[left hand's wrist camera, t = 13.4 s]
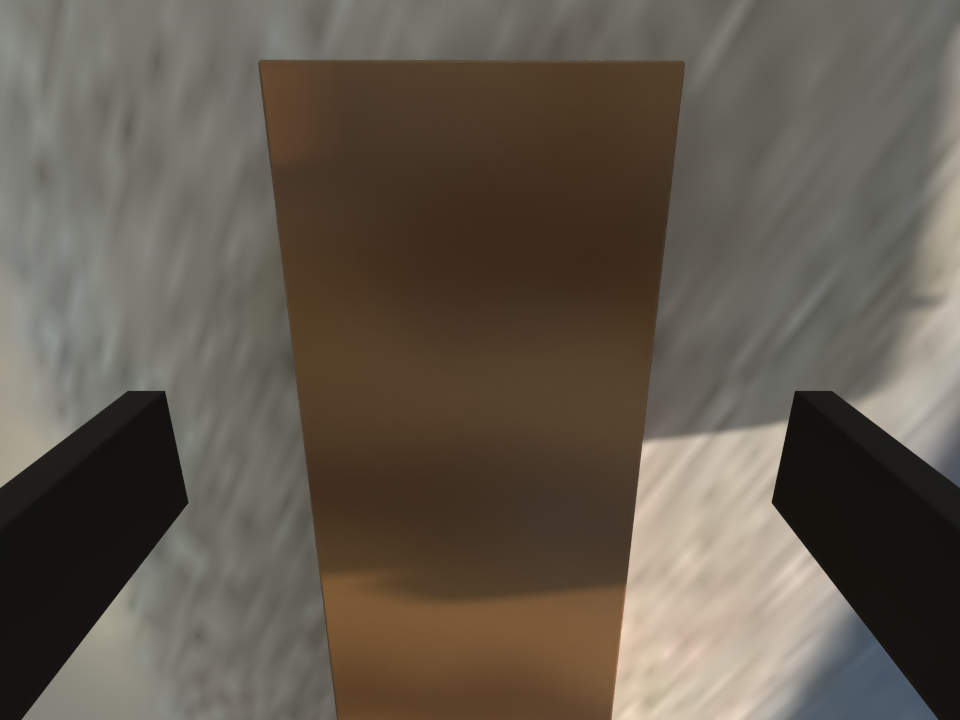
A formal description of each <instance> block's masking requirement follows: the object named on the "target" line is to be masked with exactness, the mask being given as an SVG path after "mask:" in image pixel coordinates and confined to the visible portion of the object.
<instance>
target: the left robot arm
mask: <svg viewBox="0 0 960 720" xmlns="http://www.w3.org/2000/svg"><path fill="white" fill-rule="evenodd" d="M187 504H188V498H187V494H186V489H185V484H184V479H183V475H182V470H181V465H180V460H179V456H178V451H177V446H176V441H175V437H174V432H173V427H172V422H171V418H170V413H169V408H168V403H167V399H166V394H165V391H127V392H126V393H125V394H124V395H122V396H121V397H120V398H118V399H117V400H116V401H114V402H113V403H112V404H110V405H109V406H108V407H106V408H105V409H104V410H102V411H101V412H100V413H99V414H97V415H96V416H95V417H93V418H92V419H91V420H89V421H88V422H87V423H85V424H84V425H83V426H81V427H80V428H79V429H77V430H76V431H75V432H73V433H72V434H71V435H70V436H68V437H67V438H66V439H64V440H63V441H62V442H60V443H59V444H58V445H56V446H55V447H54V448H52V449H51V450H50V451H48V452H47V453H46V454H45V455H43V456H42V457H41V458H39V459H38V460H37V461H35V462H34V463H33V464H31V465H30V466H29V467H27V468H26V469H25V470H23V471H22V472H21V473H19V474H18V475H17V476H16V477H14V478H13V479H12V480H10V481H9V482H8V483H6V484H5V485H4V486H2V487H1V488H0V720H22V718H23V717H24V716H25V714H26V713H27V712H28V710H29V709H30V708H31V707H32V705H33V704H34V703H35V701H36V700H37V699H38V697H39V696H40V695H41V694H42V692H43V691H44V690H45V688H46V687H47V686H48V684H49V683H50V682H51V681H52V679H53V678H54V677H55V675H56V674H57V673H58V671H59V670H60V669H61V668H62V666H63V665H64V664H65V662H66V661H67V660H68V658H69V657H70V656H71V655H72V653H73V652H74V651H75V649H76V648H77V647H78V646H79V644H80V643H81V642H82V640H83V639H84V638H85V636H86V635H87V634H88V633H89V631H90V630H91V629H92V627H93V626H94V625H95V623H96V622H97V621H98V620H99V618H100V617H101V616H102V614H103V613H104V612H105V610H106V609H107V608H108V607H109V605H110V604H111V603H112V601H113V600H114V599H115V597H116V596H117V595H118V594H119V592H120V591H121V590H122V588H123V587H124V586H125V584H126V583H127V582H128V581H129V579H130V578H131V577H132V575H133V574H134V573H135V571H136V570H137V569H138V568H139V566H140V565H141V564H142V562H143V561H144V560H145V558H146V557H147V556H148V555H149V553H150V552H151V551H152V549H153V548H154V547H155V545H156V544H157V543H158V542H159V540H160V539H161V538H162V536H163V535H164V534H165V532H166V531H167V530H168V529H169V527H170V526H171V525H172V523H173V522H174V521H175V520H176V518H177V517H178V516H179V514H180V513H181V512H182V510H183V509H184V508H185V507H186V505H187ZM772 504H773V505H774V507H775V508H776V509H777V510H778V512H779V513H780V514H781V516H782V517H783V518H784V520H785V521H786V522H787V523H788V525H789V526H790V527H791V529H792V530H793V531H794V532H795V534H796V535H797V536H798V538H799V539H800V540H801V542H802V543H803V544H804V545H805V547H806V548H807V549H808V551H809V552H810V553H811V555H812V556H813V557H814V558H815V560H816V561H817V562H818V564H819V565H820V566H821V568H822V569H823V570H824V571H825V573H826V574H827V575H828V577H829V578H830V579H831V581H832V582H833V583H834V584H835V586H836V587H837V588H838V590H839V591H840V592H841V594H842V595H843V596H844V597H845V599H846V600H847V601H848V603H849V604H850V605H851V607H852V608H853V609H854V610H855V612H856V613H857V614H858V616H859V617H860V618H861V620H862V621H863V622H864V623H865V625H866V626H867V627H868V629H869V630H870V631H871V633H872V634H873V635H874V636H875V638H876V639H877V640H878V642H879V643H880V644H881V646H882V647H883V648H884V649H885V651H886V652H887V653H888V655H889V656H890V657H891V659H892V660H893V661H894V662H895V664H896V665H897V666H898V668H899V669H900V670H901V672H902V673H903V674H904V675H905V677H906V678H907V679H908V681H909V682H910V683H911V684H912V686H913V687H914V688H915V690H916V691H917V692H918V694H919V695H920V696H921V697H922V699H923V700H924V701H925V703H926V704H927V705H928V707H929V708H930V709H931V710H932V712H933V713H934V714H935V716H936V717H937V718H938V720H960V488H959V487H958V486H956V485H955V484H954V483H952V482H951V481H950V480H948V479H947V478H946V477H944V476H943V475H942V474H941V473H939V472H938V471H937V470H935V469H934V468H933V467H931V466H930V465H929V464H927V463H926V462H925V461H923V460H922V459H921V458H919V457H918V456H917V455H915V454H914V453H913V452H912V451H910V450H909V449H908V448H906V447H905V446H904V445H902V444H901V443H900V442H898V441H897V440H896V439H894V438H893V437H892V436H890V435H889V434H888V433H887V432H885V431H884V430H883V429H881V428H880V427H879V426H877V425H876V424H875V423H873V422H872V421H871V420H869V419H868V418H867V417H865V416H864V415H863V414H861V413H860V412H859V411H858V410H856V409H855V408H854V407H852V406H851V405H850V404H848V403H847V402H846V401H844V400H843V399H842V398H840V397H839V396H838V395H836V394H835V393H834V392H833V391H795V394H794V399H793V403H792V408H791V413H790V418H789V422H788V427H787V432H786V437H785V441H784V446H783V451H782V456H781V460H780V465H779V470H778V475H777V479H776V484H775V489H774V494H773V498H772Z"/></svg>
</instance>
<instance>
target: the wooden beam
mask: <svg viewBox="0 0 960 720" xmlns="http://www.w3.org/2000/svg"><path fill="white" fill-rule="evenodd" d="M258 65H259V74H260V82H261V90H262V99H263V107H264V115H265V124H266V132H267V140H268V148H269V157H270V165H271V173H272V182H273V190H274V198H275V207H276V215H277V223H278V231H279V240H280V248H281V256H282V265H283V273H284V281H285V290H286V298H287V306H288V314H289V323H290V331H291V339H292V348H293V356H294V364H295V373H296V381H297V389H298V397H299V406H300V414H301V422H302V431H303V439H304V447H305V456H306V464H307V472H308V480H309V489H310V497H311V505H312V514H313V522H314V530H315V539H316V547H317V555H318V563H319V572H320V580H321V588H322V597H323V605H324V613H325V622H326V630H327V638H328V646H329V655H330V663H331V671H332V680H333V688H334V696H335V705H336V713H337V720H611V718H612V709H613V700H614V691H615V683H616V674H617V665H618V656H619V647H620V638H621V629H622V620H623V611H624V602H625V593H626V584H627V575H628V566H629V557H630V549H631V540H632V531H633V522H634V513H635V504H636V495H637V486H638V477H639V468H640V459H641V450H642V441H643V432H644V424H645V415H646V406H647V397H648V388H649V379H650V370H651V361H652V352H653V343H654V334H655V325H656V316H657V307H658V299H659V290H660V281H661V272H662V263H663V254H664V245H665V236H666V227H667V218H668V209H669V200H670V191H671V182H672V174H673V165H674V156H675V147H676V138H677V129H678V120H679V111H680V102H681V93H682V84H683V75H684V66H685V64H684V62H683V61H502V60H260V61H259V63H258Z"/></svg>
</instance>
